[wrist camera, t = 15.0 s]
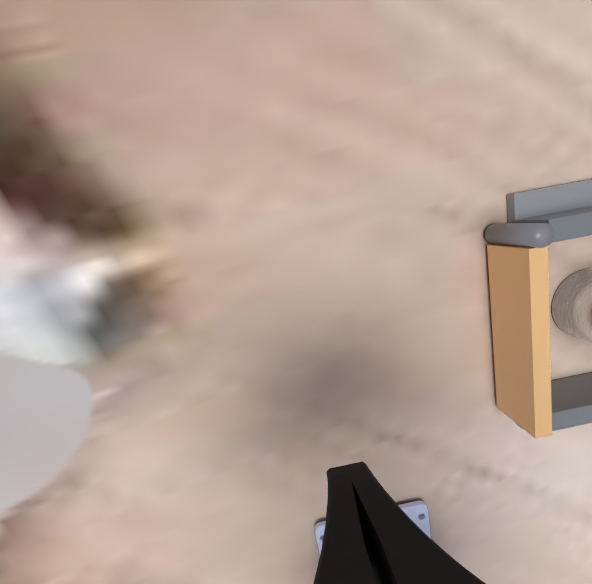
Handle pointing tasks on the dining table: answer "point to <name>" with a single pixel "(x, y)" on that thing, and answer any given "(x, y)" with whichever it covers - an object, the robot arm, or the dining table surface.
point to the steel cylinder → (574, 305)
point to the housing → (567, 225)
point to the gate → (521, 322)
